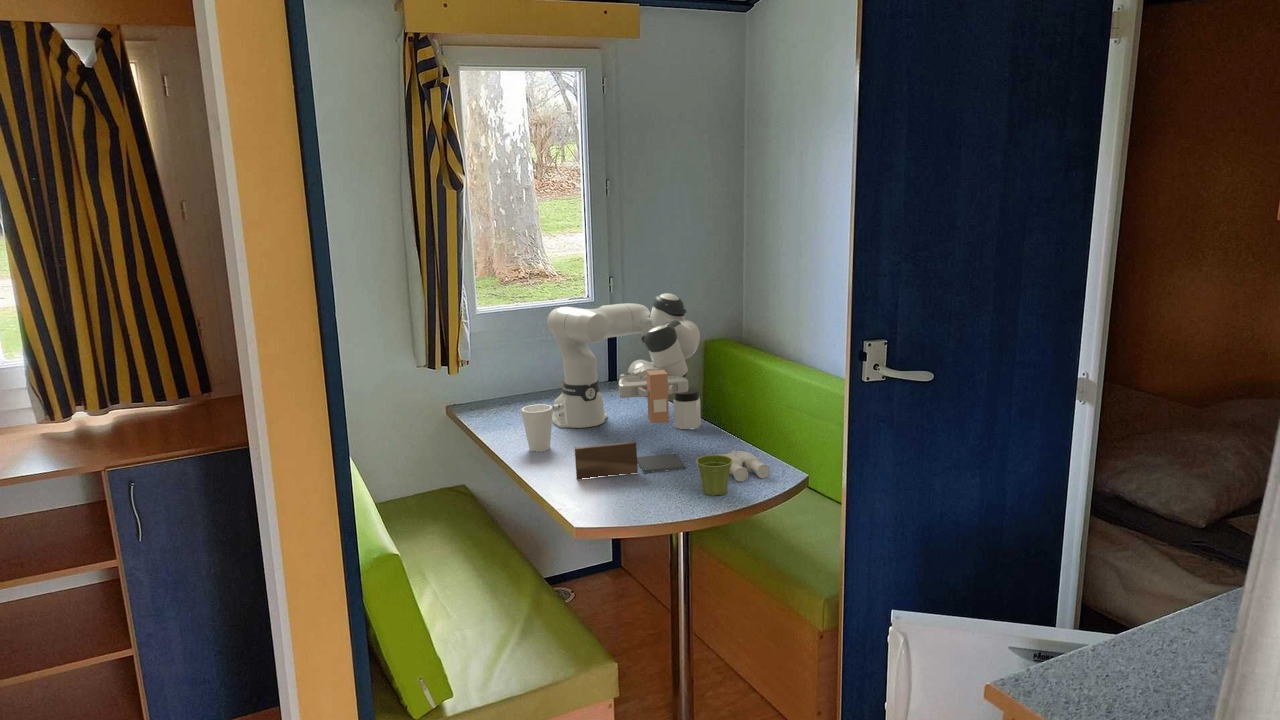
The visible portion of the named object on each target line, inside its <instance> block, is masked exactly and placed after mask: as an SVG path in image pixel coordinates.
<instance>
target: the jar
mask: <svg viewBox="0 0 1280 720" xmlns="http://www.w3.org/2000/svg"><path fill="white" fill-rule="evenodd" d="M672 403H673V427H674V428H675V429H678V428H679V429H678V430H681V429H691V428H698V429H699V428H700V427H701V424H702V421H701V419H702V418H701V397H700V390H699V389H697V388H693V387H688V391H687V392H683V393H673V401H672ZM691 430H692V429H691Z"/></svg>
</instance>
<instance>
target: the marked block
mask: <svg viewBox="0 0 1280 720" xmlns="http://www.w3.org/2000/svg"><path fill="white" fill-rule="evenodd" d="M647 390H649V395H650V397H647V398H646V399H647V417H648V420H649V422H650V423H651V424H661V423H670V409H669V404H670V403H669V395H668V374H667V373H666V372H665V371H664V370H655V371H647Z"/></svg>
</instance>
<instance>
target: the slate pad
mask: <svg viewBox="0 0 1280 720" xmlns="http://www.w3.org/2000/svg"><path fill="white" fill-rule="evenodd" d="M638 464H639V465H638ZM637 465H638V467H639V466H640V467H639V468H640V470H641V469H642V470H641V472H642V471H643V472H649V473H653V472H652V471H658V472H666V470H668V471H675V470H684V469H686V468H685V467H686V465H685V464H684V463H683V462H682V460H681V458H680V457H679V456H678V454H677V453H676V452H674V453H665V454H664V453H663V454H654V455H653V454H651V455H645V456H637ZM643 472H642V473H643Z"/></svg>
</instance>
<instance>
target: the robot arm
mask: <svg viewBox="0 0 1280 720" xmlns="http://www.w3.org/2000/svg"><path fill="white" fill-rule="evenodd" d="M685 314H687V310H686V309H685V307H684V302H683V300H682V299H681V297H680V296H678V295H677V294H676V295H675V294H673V293H669V292H668V293H666V292H665V293H664V292H663V293H659V294H657V295H656V296H655V297H654V299H653V301H652V308H651V311H650V310H649V308H648V307H647V306H645V305H643V304H639V303H628V302H626V303H616V304H607V305H606V304H605V305H600V307H598V308H581V307H575V306H574V307H573V306H561V307H555V308H554V309H552V310H551V311H550V313H549V314H548V315H547V320H546V321H547V322H546V324H547V329H548V331H549V332H550V333H551V334H552V335H553V337H554V340H555V341H556V344H557V346H558V349H559V351H560V355H561V356H560V357H561V360H562V366H563V367H562V368H563V376H564V378H563V379H564V381H563V382H561V387H562V390H561V392H562V393H561V394H560V395H558V396H557V398H555V400H554V401H553V405H551V406H552V409H553V415H552V424H554V425H555V426H556V427H558V428H561V429H562V428H575V429H576V428H578V429H579V428H580V429H582V428H590V427H596V426H599V425H601V424H603V423H605V421H606V419H608V418H609V417H608V413H605V405H604V398H603V394H602V393H600V382H599V380H598V366H597V358H596V355H595V354H594V353H593V351H592V350H591V349H590V347H589V344H597V343H598V344H599V343H602V342H603V341H604V340H605V339H609V338H616V337H624V336H629V335H635V334H638V335H639V334H640V335H642V336H641V338H640V339H641V340H640V341H641V342H642V343H643V344H644V346H645V348H646V349H647V350H648V352H649V353H648V354H649V356H650V359H651V361H648V360H646V359H637V360H634V361H633V362H632V363H631V364H630V365H629V367H628V369H627V372H625V373H621V374H620V375H619V380H618V394H619V395H618V396H619V398H621V399H629V398H637V397H638V398H639V397H640V398H646V399H648V398H647V397H650V395H649V390H647V371H655V370H664V371H665V372H666V373H667V374H668V396H672V395H673V394H674V393H683V392H687V391H688V388H689V380H688V379H687V378H686V377H687V375H688V373H689V369H688V365H687V363H686V362H687V361H686V359H689V358H691V357H692V356H694V354H695V353H696V351H697V350H698V347H699V345H700V339H701V333H700V330H699V327H698V326H697V324H696V323H694V322H693V321H691V320H688V319H685Z"/></svg>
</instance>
